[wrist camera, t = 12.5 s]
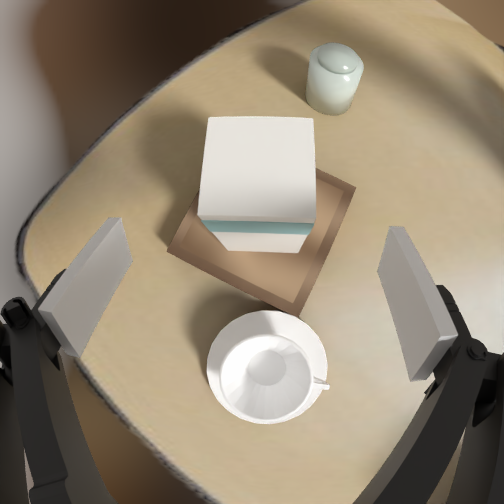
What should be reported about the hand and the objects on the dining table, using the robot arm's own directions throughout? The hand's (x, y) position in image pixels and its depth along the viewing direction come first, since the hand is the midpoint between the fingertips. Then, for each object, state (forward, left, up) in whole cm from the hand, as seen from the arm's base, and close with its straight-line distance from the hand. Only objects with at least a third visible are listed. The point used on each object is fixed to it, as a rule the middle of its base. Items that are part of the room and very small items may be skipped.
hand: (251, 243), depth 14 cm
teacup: (+8, +5, -17) cm, 20 cm away
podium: (-5, -2, -17) cm, 18 cm away
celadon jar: (-24, -2, -17) cm, 29 cm away
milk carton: (-5, -2, -14) cm, 15 cm away
